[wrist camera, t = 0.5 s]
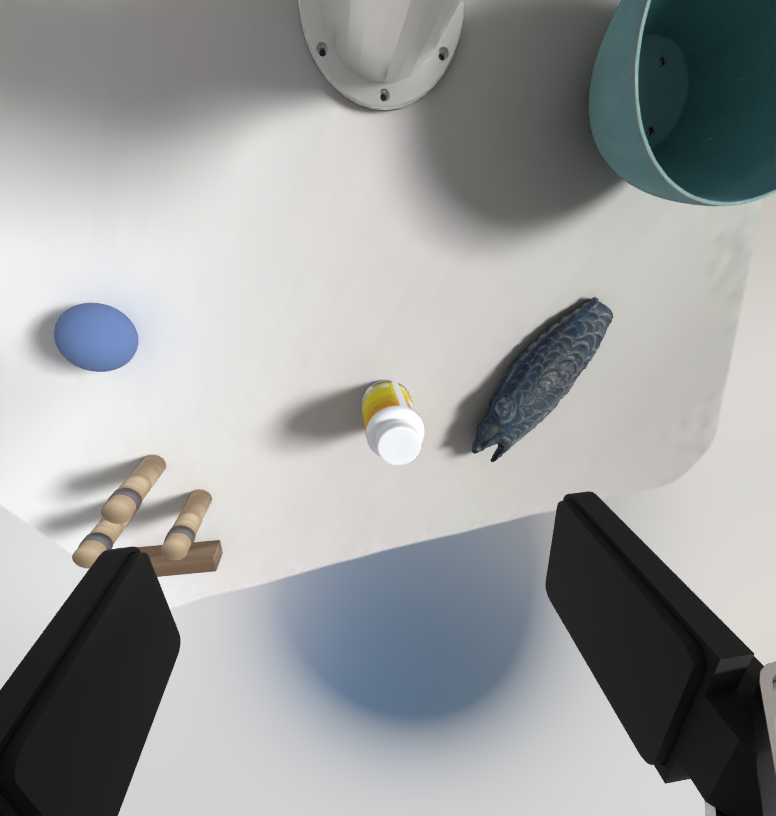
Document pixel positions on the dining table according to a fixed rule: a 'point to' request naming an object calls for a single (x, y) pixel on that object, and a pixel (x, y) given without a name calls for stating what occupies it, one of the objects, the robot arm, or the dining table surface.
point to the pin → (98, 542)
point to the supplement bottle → (392, 422)
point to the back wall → (186, 559)
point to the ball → (96, 337)
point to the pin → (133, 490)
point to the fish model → (542, 377)
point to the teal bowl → (689, 99)
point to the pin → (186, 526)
